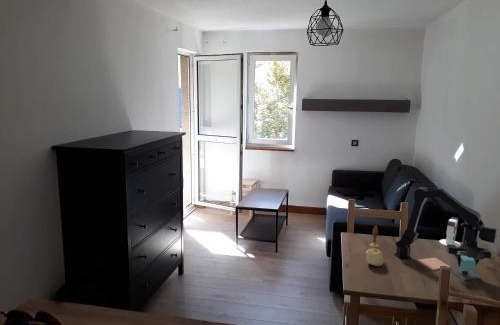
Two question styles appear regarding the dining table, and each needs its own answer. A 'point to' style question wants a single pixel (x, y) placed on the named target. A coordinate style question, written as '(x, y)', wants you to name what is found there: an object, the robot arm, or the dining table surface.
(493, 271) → the dining table surface
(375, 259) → the apple
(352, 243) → the dining table surface
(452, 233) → the white stand
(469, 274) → the post base
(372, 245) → the hand bell
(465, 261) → the teal cube
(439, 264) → the tile
